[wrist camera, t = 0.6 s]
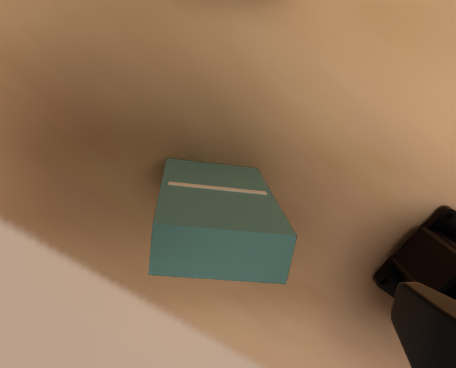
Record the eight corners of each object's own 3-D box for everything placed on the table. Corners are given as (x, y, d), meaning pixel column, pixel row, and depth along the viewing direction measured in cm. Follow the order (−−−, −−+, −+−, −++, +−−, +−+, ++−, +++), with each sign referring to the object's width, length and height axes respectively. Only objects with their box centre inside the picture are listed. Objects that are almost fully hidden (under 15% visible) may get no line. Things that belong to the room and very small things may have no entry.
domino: (251, 202, 21) (285, 285, 13) (163, 193, 20) (148, 275, 13) (257, 167, 20) (297, 234, 13) (166, 157, 20) (152, 222, 12)
